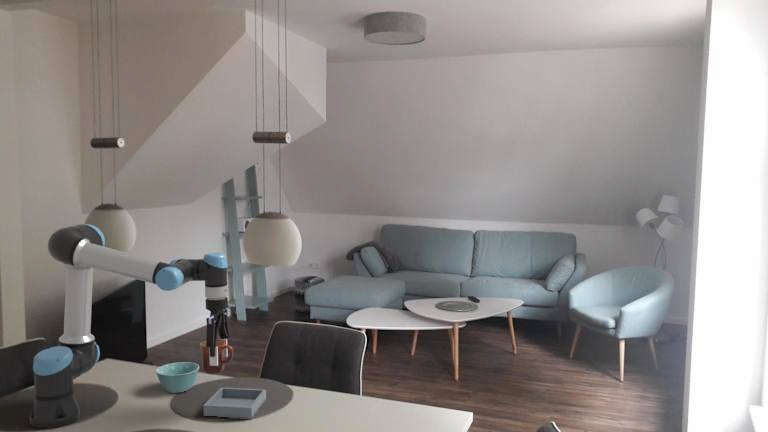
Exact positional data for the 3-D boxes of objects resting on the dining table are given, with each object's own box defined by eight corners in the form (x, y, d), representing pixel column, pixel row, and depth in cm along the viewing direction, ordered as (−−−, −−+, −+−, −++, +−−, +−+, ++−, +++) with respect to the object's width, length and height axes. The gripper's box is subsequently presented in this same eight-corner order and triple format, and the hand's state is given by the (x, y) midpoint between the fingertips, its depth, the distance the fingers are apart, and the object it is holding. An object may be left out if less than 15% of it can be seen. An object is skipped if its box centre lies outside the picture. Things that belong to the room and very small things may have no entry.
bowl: (149, 388, 244) (149, 367, 244) (188, 378, 255) (188, 358, 254) (166, 400, 233) (166, 378, 232) (206, 389, 243) (206, 368, 243)
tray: (203, 416, 219) (203, 405, 218) (221, 397, 235) (221, 387, 235) (251, 419, 217) (251, 407, 216) (266, 400, 234) (266, 389, 233)
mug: (195, 374, 221) (194, 345, 220) (208, 366, 229) (207, 338, 228) (227, 377, 218) (226, 347, 217) (239, 368, 227) (238, 340, 226)
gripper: (215, 304, 210) (217, 371, 212) (237, 291, 231) (239, 352, 233) (193, 304, 211) (196, 370, 213) (217, 290, 232) (219, 351, 234)
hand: (218, 360), depth 223 cm, fingers closed on mug, 8 cm apart
